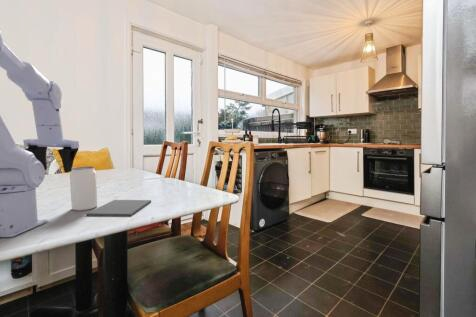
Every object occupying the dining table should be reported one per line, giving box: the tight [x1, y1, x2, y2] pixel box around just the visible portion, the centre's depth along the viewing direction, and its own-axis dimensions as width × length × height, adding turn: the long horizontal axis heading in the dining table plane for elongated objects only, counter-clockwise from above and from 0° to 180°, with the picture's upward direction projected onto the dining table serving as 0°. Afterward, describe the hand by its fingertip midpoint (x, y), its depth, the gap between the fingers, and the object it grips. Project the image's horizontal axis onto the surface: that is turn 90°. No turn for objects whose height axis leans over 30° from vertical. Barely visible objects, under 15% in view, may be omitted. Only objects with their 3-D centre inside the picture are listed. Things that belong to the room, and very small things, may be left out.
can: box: [69, 166, 99, 212], centre depth 69 cm, size 6×6×12 cm
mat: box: [86, 199, 152, 217], centre depth 70 cm, size 14×12×1 cm
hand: (55, 171), depth 70 cm, fingers open, 7 cm apart
